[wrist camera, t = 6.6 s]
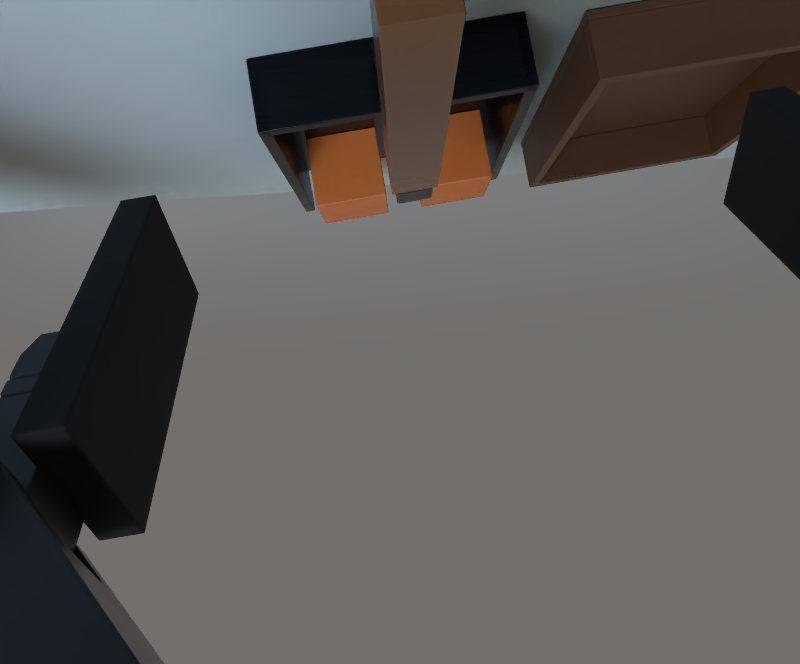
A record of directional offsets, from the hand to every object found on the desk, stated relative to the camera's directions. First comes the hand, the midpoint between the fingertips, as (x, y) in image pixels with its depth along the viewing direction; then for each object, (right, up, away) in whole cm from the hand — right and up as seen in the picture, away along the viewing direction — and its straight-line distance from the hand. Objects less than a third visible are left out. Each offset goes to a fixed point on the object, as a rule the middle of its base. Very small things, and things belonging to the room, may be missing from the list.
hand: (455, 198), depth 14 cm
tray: (+15, +13, +24) cm, 31 cm away
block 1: (-5, +9, +25) cm, 27 cm away
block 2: (+1, +10, +25) cm, 27 cm away
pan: (-2, +11, +15) cm, 18 cm away
